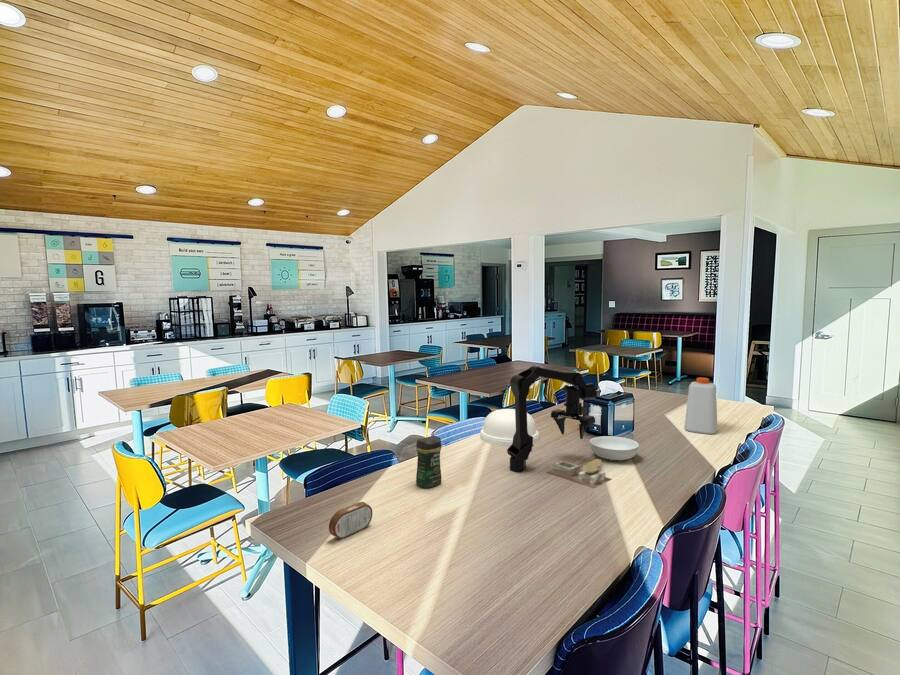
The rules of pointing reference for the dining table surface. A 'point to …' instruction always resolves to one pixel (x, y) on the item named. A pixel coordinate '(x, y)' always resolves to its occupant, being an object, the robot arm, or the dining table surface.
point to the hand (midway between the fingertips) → (572, 436)
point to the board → (578, 474)
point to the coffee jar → (428, 462)
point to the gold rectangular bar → (592, 466)
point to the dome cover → (504, 428)
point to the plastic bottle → (701, 407)
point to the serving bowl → (614, 447)
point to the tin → (350, 520)
